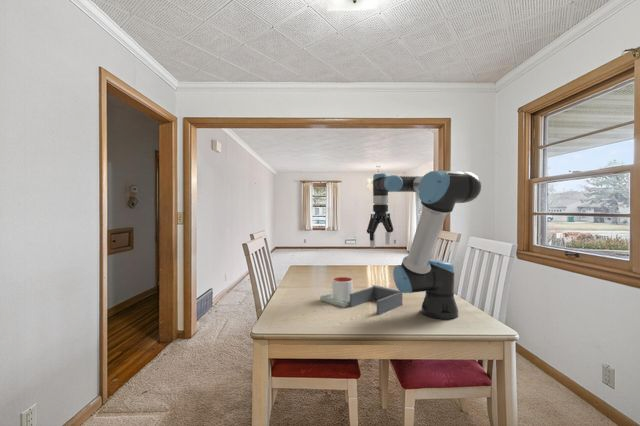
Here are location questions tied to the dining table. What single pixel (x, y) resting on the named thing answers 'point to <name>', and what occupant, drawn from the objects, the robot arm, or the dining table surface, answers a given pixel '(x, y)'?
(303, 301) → the dining table surface
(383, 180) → the robot arm
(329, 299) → the tray
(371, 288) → the bay
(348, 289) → the cup
